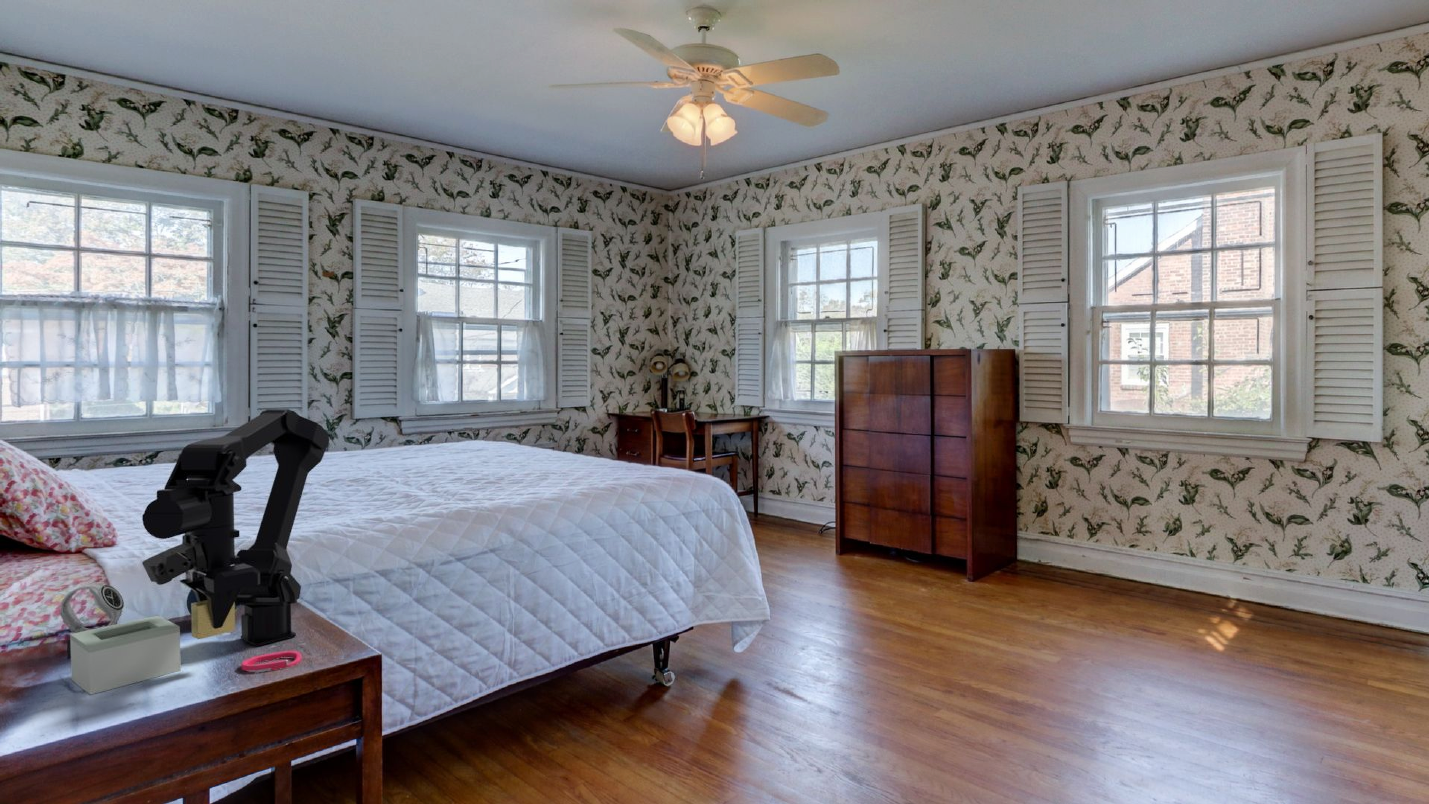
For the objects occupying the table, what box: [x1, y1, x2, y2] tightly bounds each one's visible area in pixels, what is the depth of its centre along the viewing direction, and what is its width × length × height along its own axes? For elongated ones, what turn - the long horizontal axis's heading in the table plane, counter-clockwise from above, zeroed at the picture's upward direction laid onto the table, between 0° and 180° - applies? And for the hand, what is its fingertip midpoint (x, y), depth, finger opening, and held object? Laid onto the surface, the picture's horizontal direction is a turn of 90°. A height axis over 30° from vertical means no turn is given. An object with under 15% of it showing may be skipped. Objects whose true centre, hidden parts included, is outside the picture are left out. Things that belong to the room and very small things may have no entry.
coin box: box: [69, 615, 182, 695], centre depth 114 cm, size 11×9×7 cm
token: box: [190, 600, 236, 640], centre depth 116 cm, size 5×2×5 cm, turn 144°
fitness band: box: [241, 650, 302, 674], centre depth 118 cm, size 8×6×2 cm
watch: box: [59, 582, 125, 660], centre depth 123 cm, size 6×8×11 cm
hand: (213, 626), depth 116 cm, fingers closed on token, 2 cm apart
